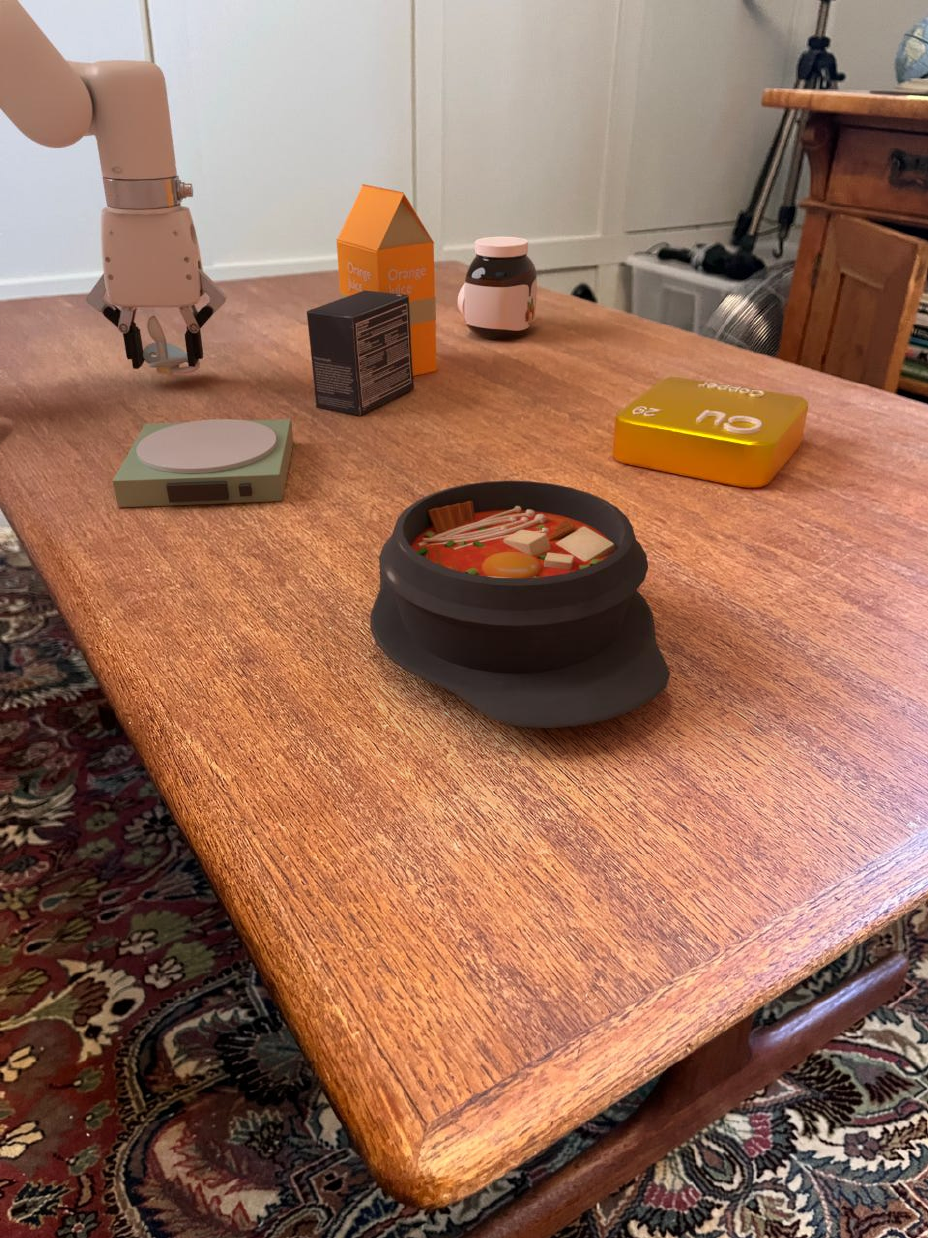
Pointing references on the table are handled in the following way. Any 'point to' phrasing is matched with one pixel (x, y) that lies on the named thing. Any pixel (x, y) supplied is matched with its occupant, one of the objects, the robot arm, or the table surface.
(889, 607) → the table surface
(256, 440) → the scale
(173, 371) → the pacifier
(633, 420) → the element tile
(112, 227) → the robot arm
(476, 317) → the spread jar
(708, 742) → the table surface
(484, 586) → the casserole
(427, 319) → the orange juice
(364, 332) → the small box
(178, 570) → the table surface
